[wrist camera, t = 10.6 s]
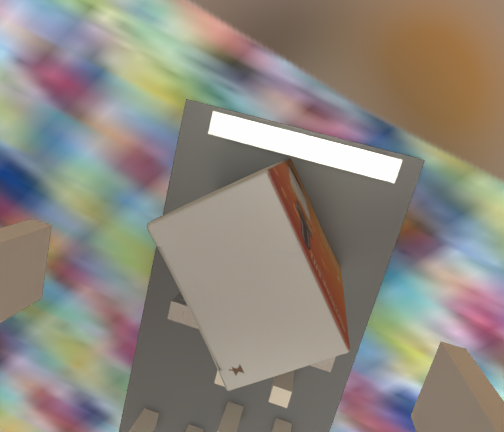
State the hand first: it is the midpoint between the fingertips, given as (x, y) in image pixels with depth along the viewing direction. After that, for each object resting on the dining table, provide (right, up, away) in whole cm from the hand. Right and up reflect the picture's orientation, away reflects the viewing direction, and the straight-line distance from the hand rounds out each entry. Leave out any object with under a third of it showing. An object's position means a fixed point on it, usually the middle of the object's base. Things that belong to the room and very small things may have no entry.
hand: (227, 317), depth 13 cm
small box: (+3, +2, +13) cm, 13 cm away
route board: (+1, -3, +15) cm, 16 cm away
